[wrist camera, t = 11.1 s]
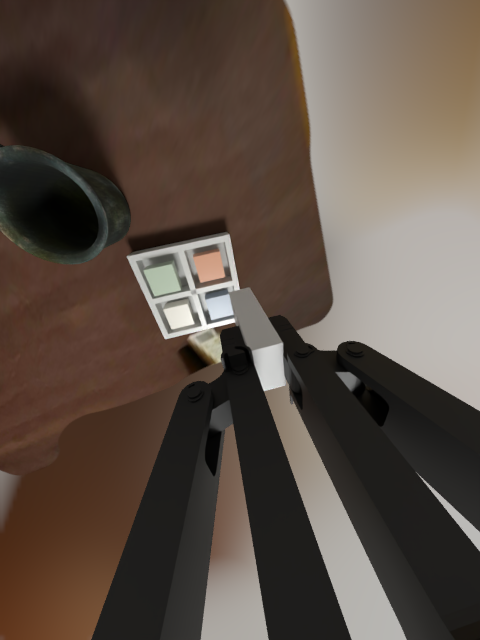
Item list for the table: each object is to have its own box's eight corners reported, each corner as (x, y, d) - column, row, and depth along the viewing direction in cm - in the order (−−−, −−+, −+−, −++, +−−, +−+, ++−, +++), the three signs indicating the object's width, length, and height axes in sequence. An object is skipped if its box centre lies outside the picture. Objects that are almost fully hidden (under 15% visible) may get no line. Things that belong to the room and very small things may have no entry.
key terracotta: (200, 277, 39) (200, 282, 36) (193, 253, 36) (192, 257, 34) (223, 272, 39) (225, 277, 37) (218, 247, 37) (219, 251, 34)
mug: (113, 259, 36) (79, 283, 25) (11, 190, 29) (-91, 184, 19) (148, 209, 33) (126, 212, 23) (45, 119, 26) (-53, 66, 16)
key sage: (157, 289, 37) (154, 296, 34) (147, 265, 35) (143, 270, 32) (182, 284, 37) (181, 290, 35) (173, 259, 35) (171, 264, 32)
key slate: (210, 312, 43) (211, 320, 40) (204, 293, 41) (205, 299, 38) (231, 307, 43) (233, 314, 41) (227, 288, 41) (229, 294, 38)
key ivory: (173, 321, 43) (171, 329, 40) (165, 302, 40) (163, 309, 38) (194, 316, 43) (194, 324, 40) (188, 297, 40) (187, 303, 38)
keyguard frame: (167, 330, 44) (165, 339, 41) (132, 251, 35) (126, 256, 33) (242, 312, 45) (245, 319, 43) (226, 231, 37) (229, 234, 34)
